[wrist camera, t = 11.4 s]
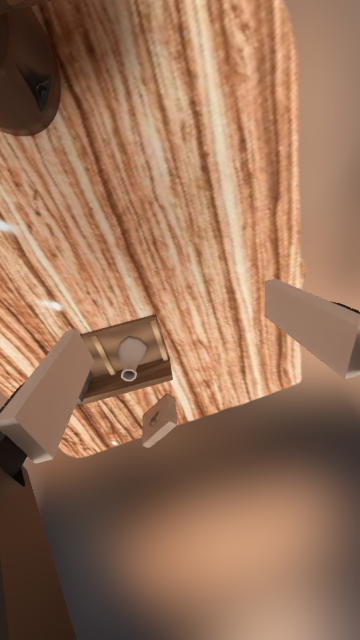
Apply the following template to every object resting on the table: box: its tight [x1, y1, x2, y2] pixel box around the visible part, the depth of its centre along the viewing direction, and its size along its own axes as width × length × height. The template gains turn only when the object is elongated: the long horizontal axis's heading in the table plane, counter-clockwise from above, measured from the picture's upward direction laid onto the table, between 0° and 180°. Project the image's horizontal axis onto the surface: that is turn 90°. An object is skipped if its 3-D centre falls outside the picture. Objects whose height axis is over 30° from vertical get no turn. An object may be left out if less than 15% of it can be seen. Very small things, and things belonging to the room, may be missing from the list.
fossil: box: [142, 394, 177, 448], centre depth 56 cm, size 12×4×10 cm, turn 138°
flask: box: [118, 336, 148, 381], centre depth 44 cm, size 7×7×10 cm
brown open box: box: [76, 314, 173, 405], centre depth 45 cm, size 14×22×10 cm, turn 103°
